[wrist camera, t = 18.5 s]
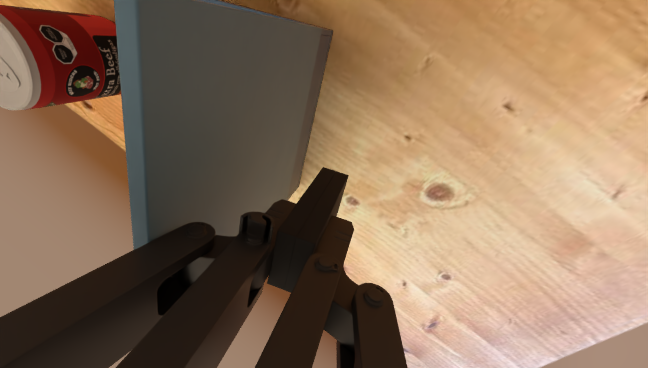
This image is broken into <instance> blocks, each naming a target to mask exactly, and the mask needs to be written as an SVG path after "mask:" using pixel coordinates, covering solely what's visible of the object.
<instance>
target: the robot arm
mask: <svg viewBox="0 0 648 368" xmlns="http://www.w3.org/2000/svg"><path fill="white" fill-rule="evenodd" d="M348 176H349V175H346V174H343V173H340V172H337V171H334V170H330V169H327V168H324V167H323V168H322V169H321V171H320V172H319V174H318V175H317V176H316V178H315V179H314V180H313V182H312V183H311V185H310V186H309V187H308V189H307V190H306V192H305V193H304V194H303V196H302V197H301V198H300V200H299V201H298V203H297V204H295V203H292V202H289V201H287V200H284V199H281V200H279V201H277V202H274V203H273V204H272V206H271V207H270V208H269V209H268V210H267V211H266V212H265V213H262V212H247V213H244V214H243V215H241V217H240V226H239V234H238V235H237V236H221V235H216V232H215V229H214V228H213V227H212V226H211V225H210V224H207V223H204V222H190V223H188V224H185V225H183V226H181V227H179V228H177V229H175V230H173V231H171V232H169V233H167V234H165V235H163V236H161V237H159V238H157V239H155V240H153V241H151V242H149V243H147V244H145V245H143V246H141V247H139V248H137V249H135V250H133V251H131V252H129V253H127V254H125V255H123V256H121V257H119V258H117V259H115V260H113V261H112V262H109V263H107V264H105V265H103V266H101V267H99V268H97V269H95V270H93V271H91V272H89V273H87V274H85V275H83V276H81V277H79V278H77V279H75V280H73V281H71V282H69V283H67V284H65V285H64V286H61V287H60V288H58V289H56V290H54V291H52V292H50V293H48V294H46V295H44V296H42V297H40V298H38V299H36V300H34V301H32V302H30V303H28V304H26V305H24V306H22V307H20V308H18V309H16V310H14V311H12V312H10V313H8V314H6V315H4V316H2V317H0V368H109V367H110V366H112V365H113V364H114V363H115V362H117V361H118V360H119V359H120V358H122V357H123V356H124V355H126V354H127V353H128V352H130V351H131V352H130V353H129V354H128V355H127V356H126V357H125V358H124V359H123V360H122V361H121V363H120V364H119V365H118V366H117V367H116V368H217V366H218V365H219V363H220V361H221V360H222V358H223V356H224V355H225V353H226V351H227V350H228V348H229V346H230V345H231V343H232V341H233V340H234V338H235V336H236V335H237V333H238V331H239V330H240V328H241V326H242V325H243V323H244V321H245V319H246V318H247V316H248V315H249V313H250V311H251V310H252V308H253V306H254V305H255V303H256V301H257V300H258V298H259V296H260V295H261V293H262V290H263V285H264V282H265V280H266V279H267V277H268V275H269V277H268V282H267V283H268V284H270V285H273V286H275V287H278V288H281V289H283V290H286V291H288V292H291V294H290V297H289V299H288V301H287V303H286V305H285V307H284V309H283V311H282V313H281V315H280V317H279V319H278V321H277V323H276V326H275V328H274V329H273V331H272V334H271V336H270V338H269V340H268V342H267V344H266V346H265V348H264V350H263V352H262V354H261V356H260V358H259V360H258V362H257V364H256V366H255V368H312V365H313V362H314V359H315V356H316V352H317V349H318V346H319V342H320V339H321V336H322V333H323V330H325V331H327V332H328V333H329V334H330V335H332V336H333V337H334V338H335V339H336V340H337V368H407V364H406V359H405V354H404V350H403V345H402V341H401V336H400V332H399V327H398V323H397V318H396V314H395V309H394V305H393V301H392V298H391V296H390V295H389V293H388V292H387V291H386V290H385V289H383V288H382V287H380V286H379V285H376V284H373V283H364V284H361V285H357V284H356V283H354V282H353V281H352V280H351V279H350V278H349V277H348V276H347V275H346V273H345V271H344V268H343V265H344V261H345V257H346V254H347V251H348V247H349V244H350V241H351V238H352V234H353V231H354V228H353V225H352V222H350V221H347V220H344V219H341V218H338V217H336V216H337V213H338V209H339V206H340V203H341V199H342V196H343V192H344V189H345V186H346V182H347V179H348Z"/></svg>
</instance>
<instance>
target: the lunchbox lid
mask: <svg viewBox="0 0 648 368" xmlns="http://www.w3.org/2000/svg"><path fill="white" fill-rule="evenodd" d="M114 10H115V22H116V35H117V47H118V59H119V72H120V84H121V97H122V109H123V122H124V134H125V146H126V159H127V169H128V170H127V171H128V183H129V195H130V207H131V221H132V232H133V246H134V250H135V249H137V248H139V247H141V246H143V245H145V244H147V243H149V242H151V241H153V240H155V239H157V238H159V237H161V236H163V235H165V234H167V233H169V232H171V231H173V230H175V229H177V228H179V227H181V226H183V225H185V224H188V223H190V222H204V223H207V224H210V225H211V226H212V227H213V228H214V229H215V232H216V235H221V236H237V235H238V234H239V226H240V217H241V215H243V214H244V213H247V212H262V213H265V212H266V211H267V210H268V209H269V208H270V207H271V206H272V204H273V203H274V202H277V201H279V200H281V199H284V200H287V197H288V192H289V187H290V182H291V178H292V173H293V168H294V163H295V158H296V153H297V148H298V144H299V139H300V134H301V129H302V124H303V119H304V114H305V109H306V105H307V100H308V95H309V90H310V85H311V80H312V75H313V70H314V66H315V61H316V56H317V51H318V46H319V41H320V36H321V32H322V28H320V27H316V26H312V25H308V24H303V23H298V22H294V21H289V20H285V19H280V18H276V17H271V16H267V15H262V14H258V13H253V12H249V11H244V10H240V9H235V8H231V7H226V6H222V5H217V4H213V3H208V2H204V1H199V0H114Z"/></svg>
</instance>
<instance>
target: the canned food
mask: <svg viewBox="0 0 648 368" xmlns="http://www.w3.org/2000/svg"><path fill="white" fill-rule="evenodd" d="M119 94H121V84H120V72H119V59H118V47H117V35H116V23H114V22H112V21H110V20H108V19H105V18H103V17H101V16H96V15H88V14H79V13H69V12H60V11H51V10H42V9H33V8H24V7H14V6H5V5H0V107H2V108H5V109H9V110H27V109H33V108H41V107H47V106H53V105H59V104H65V103H71V102H77V101H83V100H89V99H95V98H101V97H107V96H113V95H119Z"/></svg>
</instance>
